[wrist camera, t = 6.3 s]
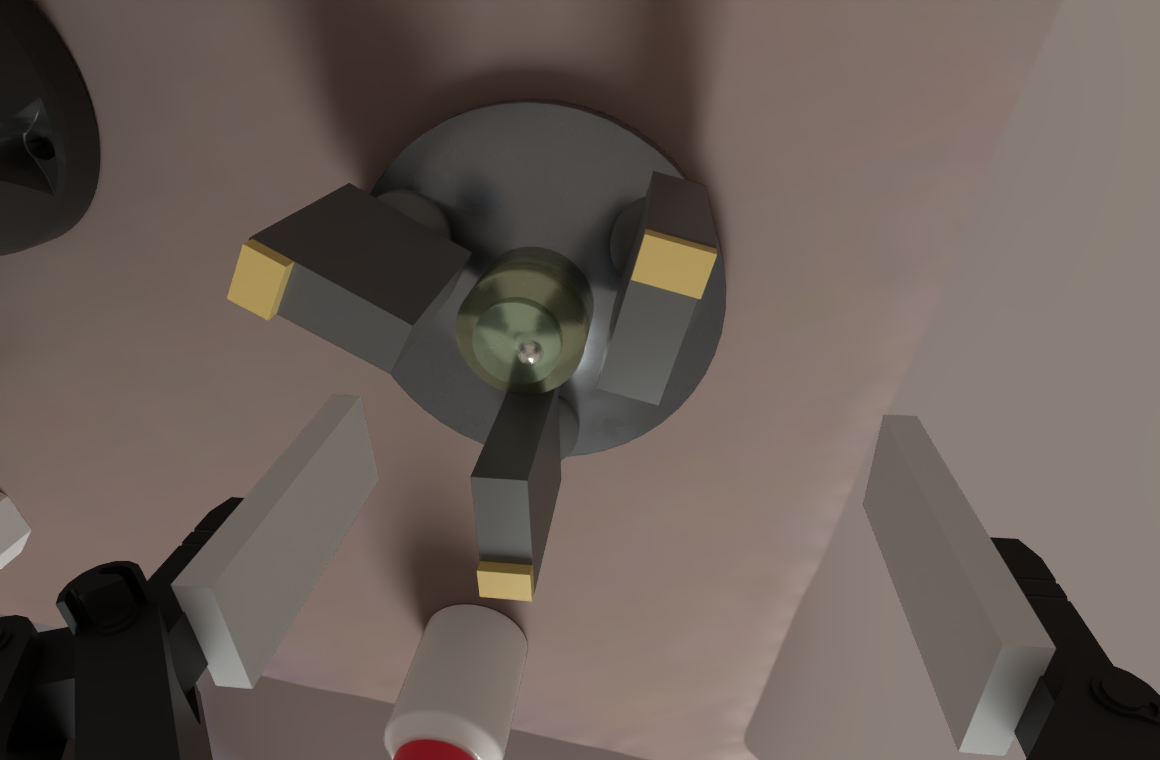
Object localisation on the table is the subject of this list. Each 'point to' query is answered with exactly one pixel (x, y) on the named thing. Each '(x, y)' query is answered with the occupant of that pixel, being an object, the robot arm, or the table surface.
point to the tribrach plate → (548, 208)
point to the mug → (11, 531)
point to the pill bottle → (459, 688)
